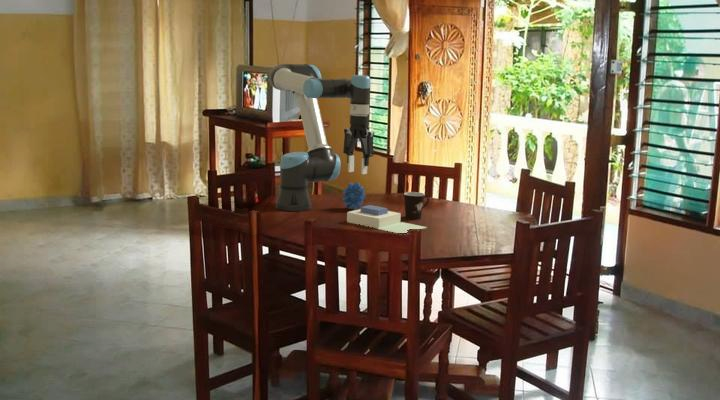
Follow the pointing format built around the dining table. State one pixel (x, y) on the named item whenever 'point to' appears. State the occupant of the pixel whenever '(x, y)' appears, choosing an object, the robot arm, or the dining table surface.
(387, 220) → the cream flat block
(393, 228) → the mat
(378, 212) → the blue rectangular block
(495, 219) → the dining table surface
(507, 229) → the dining table surface
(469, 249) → the dining table surface
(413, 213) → the coffee mug
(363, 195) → the grapes
